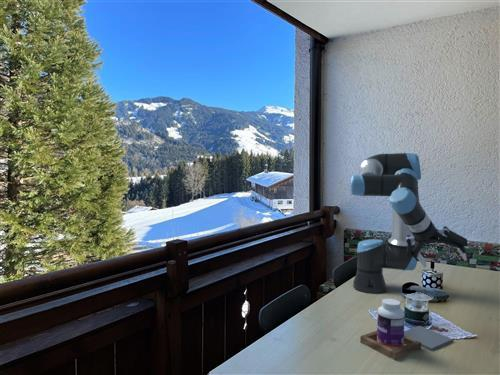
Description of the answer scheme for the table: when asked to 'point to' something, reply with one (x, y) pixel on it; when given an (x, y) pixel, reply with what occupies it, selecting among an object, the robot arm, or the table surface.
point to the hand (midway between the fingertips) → (444, 261)
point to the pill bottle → (390, 324)
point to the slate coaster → (427, 337)
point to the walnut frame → (394, 354)
